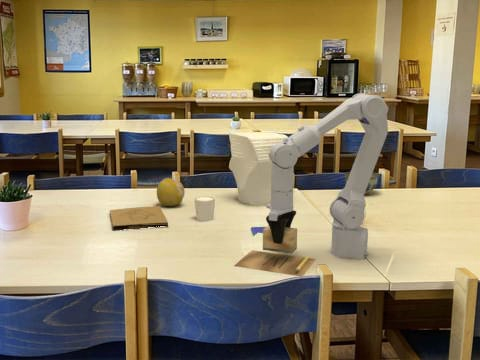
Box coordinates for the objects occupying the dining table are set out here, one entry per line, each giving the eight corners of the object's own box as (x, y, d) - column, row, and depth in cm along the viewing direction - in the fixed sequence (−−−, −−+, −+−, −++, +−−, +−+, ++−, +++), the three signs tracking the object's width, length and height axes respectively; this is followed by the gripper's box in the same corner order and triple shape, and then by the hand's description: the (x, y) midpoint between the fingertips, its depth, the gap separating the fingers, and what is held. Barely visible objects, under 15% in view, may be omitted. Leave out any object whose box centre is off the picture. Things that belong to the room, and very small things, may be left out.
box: (109, 214, 191) (109, 208, 190) (160, 211, 195) (159, 205, 195) (112, 232, 171) (111, 225, 170) (168, 228, 175) (168, 222, 175)
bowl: (352, 188, 231) (353, 169, 230) (382, 192, 224) (384, 173, 222) (338, 194, 220) (338, 175, 219) (369, 199, 213) (370, 179, 211)
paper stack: (224, 197, 215) (224, 131, 209) (288, 192, 223) (290, 129, 217) (240, 210, 195) (241, 139, 190) (310, 205, 203) (312, 136, 198)
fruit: (167, 210, 194) (167, 183, 192) (151, 204, 202) (150, 178, 200) (191, 206, 201) (190, 179, 199) (174, 200, 209) (173, 174, 207)
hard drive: (283, 238, 162) (276, 226, 174) (255, 239, 161) (250, 226, 173) (283, 243, 162) (276, 231, 174) (255, 244, 161) (250, 231, 173)
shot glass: (219, 218, 185) (219, 198, 183) (204, 223, 180) (204, 202, 179) (205, 215, 189) (205, 195, 188) (190, 218, 185) (190, 198, 183)
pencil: (306, 258, 144) (307, 255, 144) (309, 258, 144) (309, 256, 144) (294, 273, 134) (294, 270, 134) (297, 273, 134) (297, 270, 134)
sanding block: (296, 248, 145) (297, 228, 144) (291, 253, 141) (292, 233, 140) (268, 244, 148) (268, 225, 147) (262, 249, 144) (262, 229, 143)
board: (315, 263, 144) (316, 259, 144) (302, 281, 132) (302, 276, 132) (251, 254, 151) (252, 250, 151) (233, 270, 139) (233, 265, 139)
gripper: (276, 182, 149) (275, 230, 152) (257, 194, 136) (256, 246, 139) (301, 185, 147) (299, 233, 149) (284, 197, 133) (283, 250, 136)
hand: (280, 240), depth 144 cm, fingers closed on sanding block, 4 cm apart
